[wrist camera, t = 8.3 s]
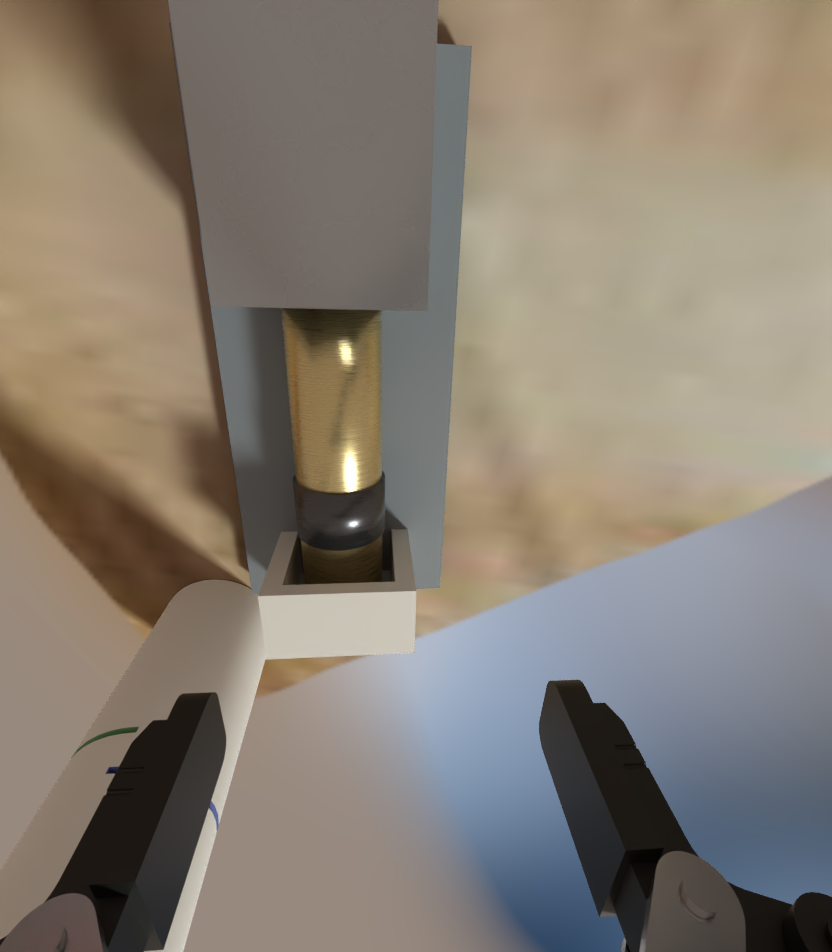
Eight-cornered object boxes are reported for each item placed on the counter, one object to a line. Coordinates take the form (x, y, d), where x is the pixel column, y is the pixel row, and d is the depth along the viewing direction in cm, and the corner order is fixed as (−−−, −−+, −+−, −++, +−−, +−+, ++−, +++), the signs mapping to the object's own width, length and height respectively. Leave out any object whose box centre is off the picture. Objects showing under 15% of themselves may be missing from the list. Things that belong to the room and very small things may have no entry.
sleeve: (228, 33, 18) (154, -91, 12) (418, 48, 19) (440, -63, 13) (256, 298, 22) (211, 306, 16) (412, 302, 22) (427, 311, 16)
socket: (281, 531, 27) (257, 596, 22) (407, 529, 28) (416, 590, 22) (287, 586, 29) (266, 659, 23) (406, 582, 29) (414, 652, 24)
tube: (282, 239, 21) (258, 229, 17) (383, 243, 21) (386, 234, 17) (308, 564, 28) (296, 616, 24) (384, 562, 28) (386, 613, 24)
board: (184, 41, 19) (169, 22, 18) (465, 62, 20) (471, 46, 19) (257, 579, 30) (252, 594, 29) (436, 574, 31) (439, 587, 30)
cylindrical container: (268, 666, 33) (35, 1535, 10) (164, 655, 32) (-367, 1618, 9) (279, 587, 30) (0, 1519, 8) (166, 572, 29) (-579, 1634, 6)
